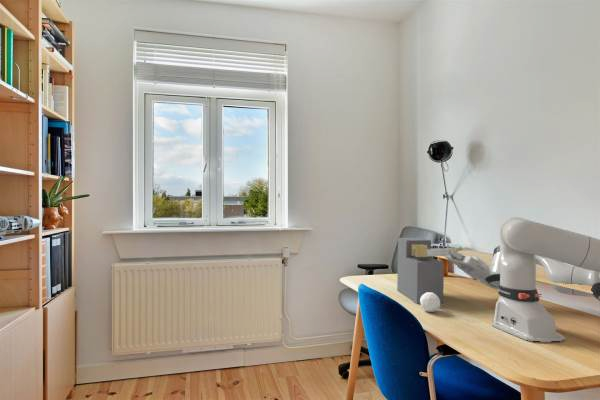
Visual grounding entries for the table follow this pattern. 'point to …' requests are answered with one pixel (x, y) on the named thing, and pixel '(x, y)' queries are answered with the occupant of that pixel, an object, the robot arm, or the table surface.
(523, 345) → the table surface
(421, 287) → the grey tall stepped block
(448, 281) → the table surface
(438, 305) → the ball
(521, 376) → the table surface
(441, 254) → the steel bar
